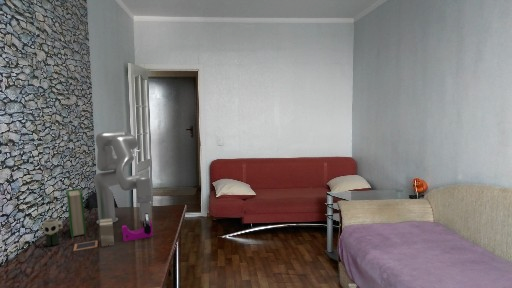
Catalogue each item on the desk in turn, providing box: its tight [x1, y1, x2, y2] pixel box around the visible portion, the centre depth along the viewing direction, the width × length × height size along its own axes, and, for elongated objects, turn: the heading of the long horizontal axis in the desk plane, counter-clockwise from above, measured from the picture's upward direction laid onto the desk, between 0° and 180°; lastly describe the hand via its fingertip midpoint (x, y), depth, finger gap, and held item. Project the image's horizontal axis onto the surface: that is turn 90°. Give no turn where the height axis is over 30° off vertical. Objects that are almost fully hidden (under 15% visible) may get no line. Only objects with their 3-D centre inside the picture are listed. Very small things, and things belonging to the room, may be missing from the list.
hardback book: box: [66, 188, 87, 239], centre depth 208 cm, size 18×7×24 cm, turn 30°
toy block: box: [121, 220, 154, 242], centre depth 195 cm, size 15×6×8 cm, turn 113°
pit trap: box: [72, 239, 99, 252], centre depth 185 cm, size 10×11×1 cm
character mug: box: [38, 218, 64, 247], centre depth 190 cm, size 11×7×13 cm, turn 111°
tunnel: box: [99, 218, 115, 247], centre depth 189 cm, size 12×6×11 cm, turn 23°
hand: (147, 231), depth 197 cm, fingers closed on toy block, 6 cm apart
